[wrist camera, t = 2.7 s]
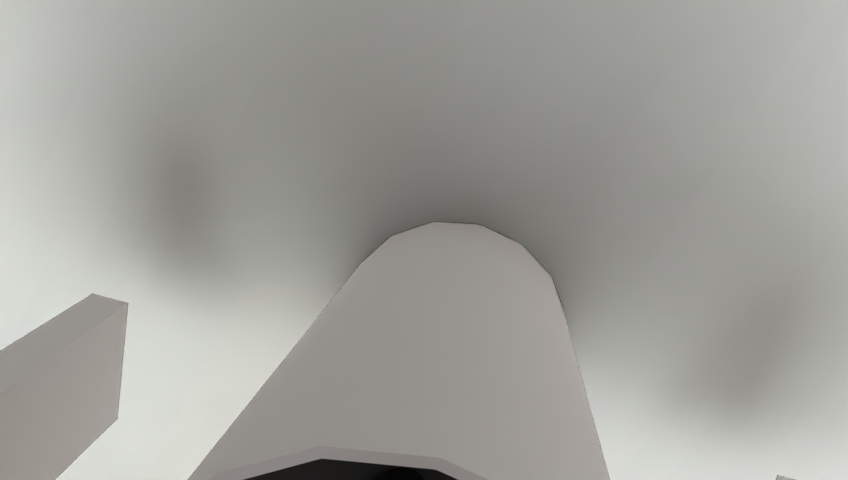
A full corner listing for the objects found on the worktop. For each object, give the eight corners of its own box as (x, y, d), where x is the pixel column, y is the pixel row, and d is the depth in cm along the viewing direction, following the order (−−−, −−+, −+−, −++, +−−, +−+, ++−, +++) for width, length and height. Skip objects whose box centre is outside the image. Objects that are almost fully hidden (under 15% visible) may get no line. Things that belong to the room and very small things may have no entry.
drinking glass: (277, 282, 18) (11, 577, 8) (497, 153, 16) (472, 343, 7) (413, 475, 19) (314, 915, 10) (631, 375, 17) (766, 795, 8)
